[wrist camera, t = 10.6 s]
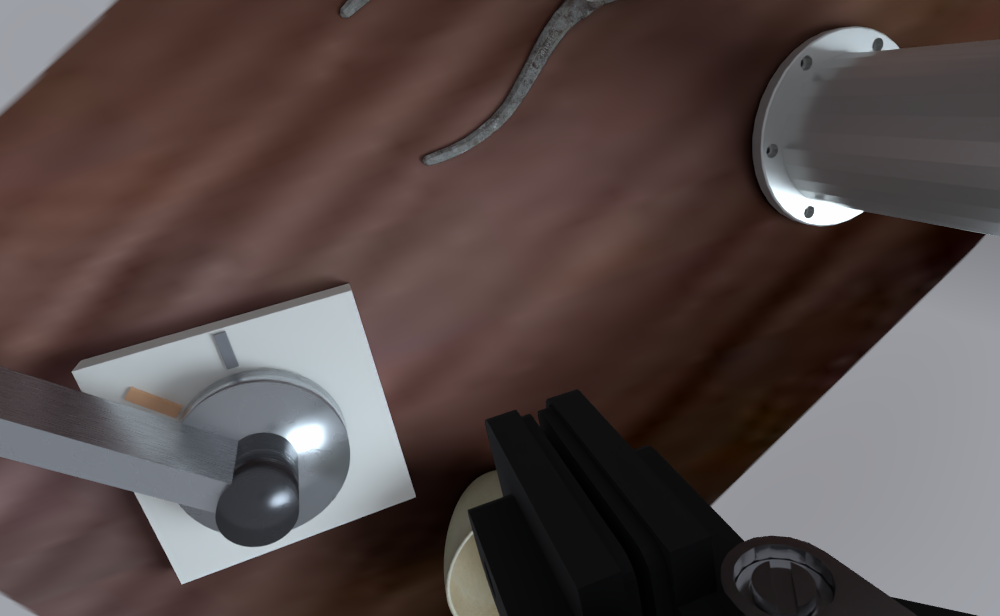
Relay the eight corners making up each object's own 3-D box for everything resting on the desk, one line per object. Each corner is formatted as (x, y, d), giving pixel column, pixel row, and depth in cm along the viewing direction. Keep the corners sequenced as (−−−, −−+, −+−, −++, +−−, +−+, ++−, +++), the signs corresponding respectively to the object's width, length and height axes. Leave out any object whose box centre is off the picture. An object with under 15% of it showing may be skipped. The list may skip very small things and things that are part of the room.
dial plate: (349, 283, 35) (351, 291, 33) (411, 483, 40) (416, 498, 38) (80, 360, 32) (70, 373, 30) (185, 566, 37) (181, 586, 35)
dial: (374, 402, 36) (390, 460, 30) (304, 532, 37) (307, 612, 31) (-22, 255, 28) (-104, 294, 22) (-95, 425, 29) (-193, 506, 23)
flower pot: (553, 417, 42) (600, 475, 35) (568, 535, 45) (615, 607, 39) (408, 462, 39) (431, 532, 33) (437, 582, 43) (462, 667, 36)
